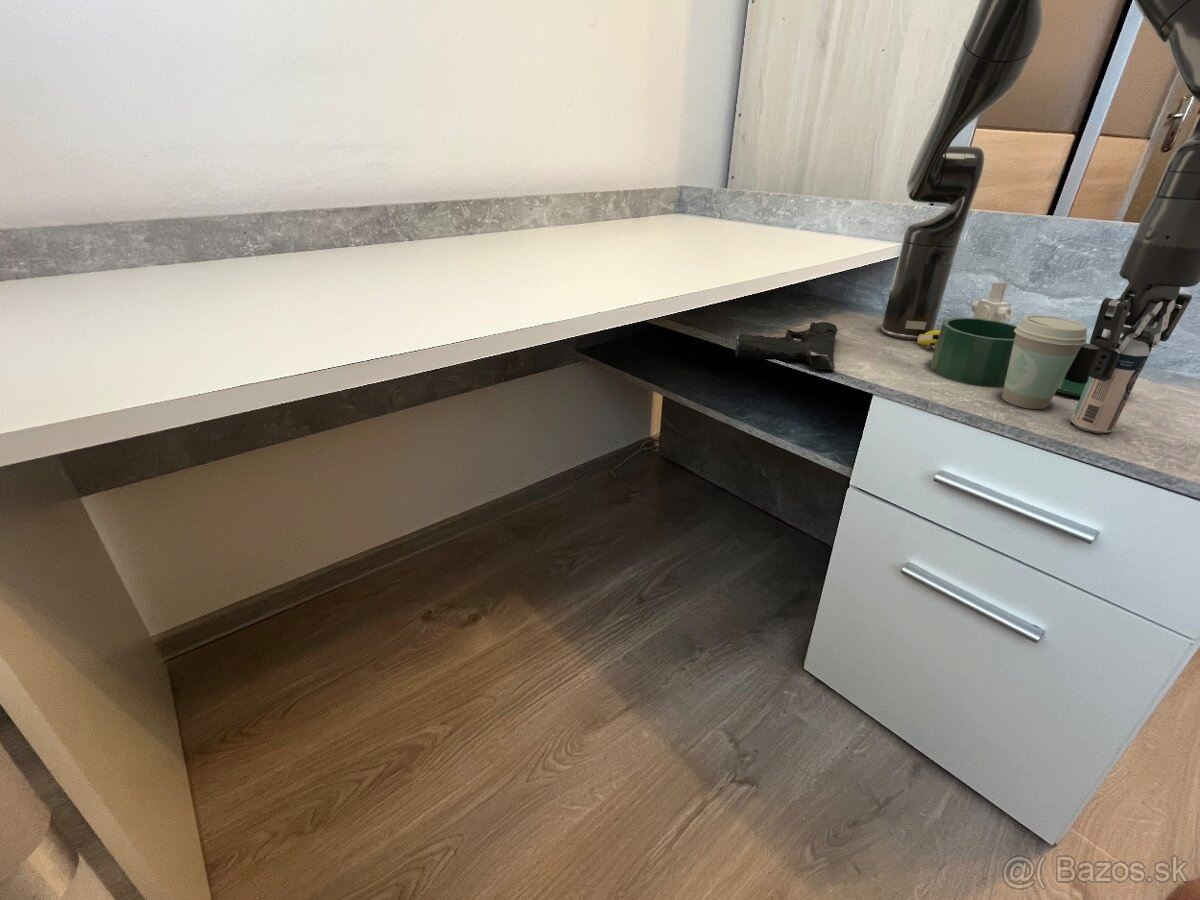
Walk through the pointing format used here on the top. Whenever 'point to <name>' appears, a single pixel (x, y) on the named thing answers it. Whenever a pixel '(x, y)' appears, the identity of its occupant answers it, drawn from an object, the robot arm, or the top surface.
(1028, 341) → the coffee cup
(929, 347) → the yellow curved piece
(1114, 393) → the beer can
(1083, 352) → the lid
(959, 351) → the pot
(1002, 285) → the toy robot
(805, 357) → the handgun
